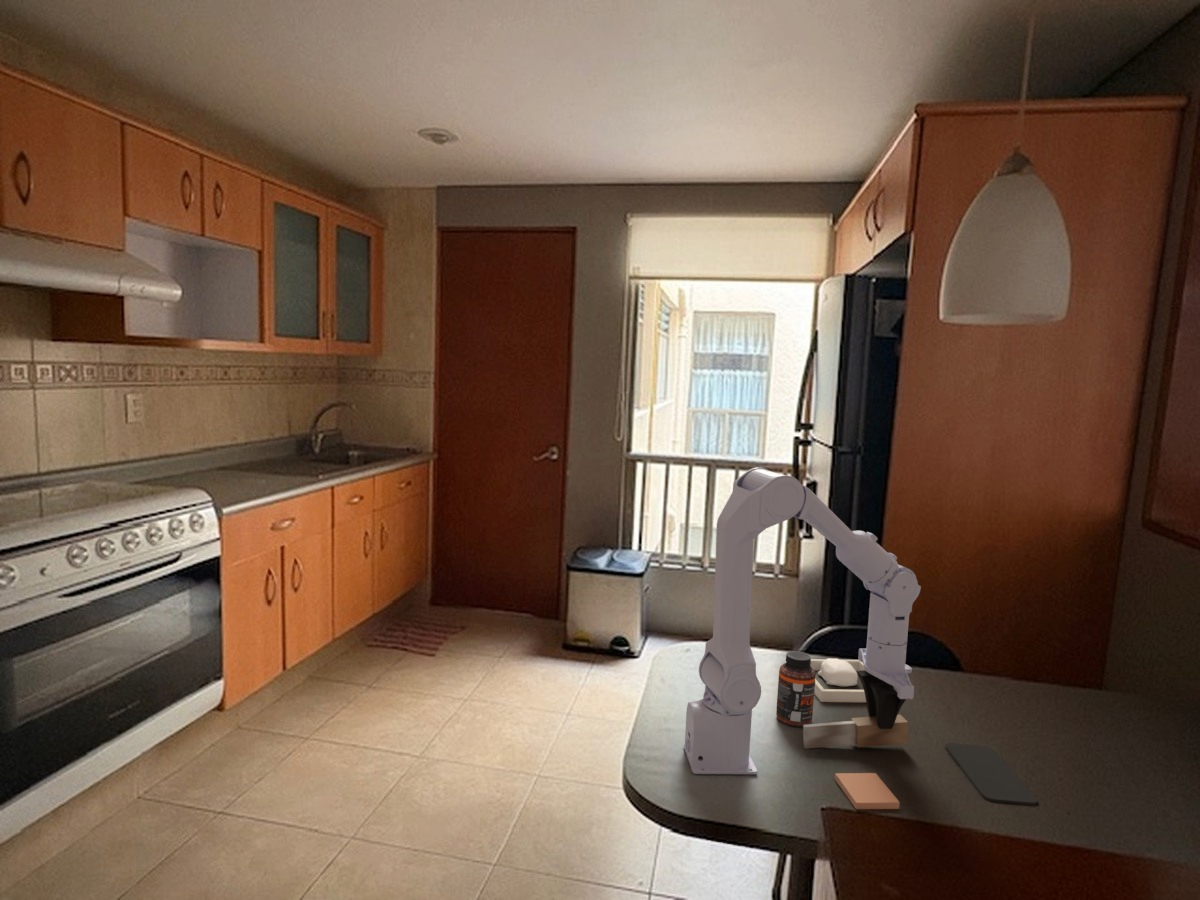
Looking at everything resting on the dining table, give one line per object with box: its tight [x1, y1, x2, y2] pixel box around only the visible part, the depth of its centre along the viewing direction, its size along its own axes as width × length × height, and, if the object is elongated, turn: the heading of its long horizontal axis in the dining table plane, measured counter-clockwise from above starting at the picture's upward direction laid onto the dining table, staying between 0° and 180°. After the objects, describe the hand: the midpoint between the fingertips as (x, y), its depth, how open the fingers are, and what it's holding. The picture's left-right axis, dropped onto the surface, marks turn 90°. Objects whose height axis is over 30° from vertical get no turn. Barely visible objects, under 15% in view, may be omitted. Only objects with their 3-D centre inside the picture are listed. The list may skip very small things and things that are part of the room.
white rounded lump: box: [817, 657, 859, 688], centre depth 135 cm, size 8×7×4 cm
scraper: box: [802, 713, 909, 749], centre depth 109 cm, size 16×2×4 cm, turn 93°
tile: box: [834, 772, 901, 810], centre depth 97 cm, size 6×1×7 cm
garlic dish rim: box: [810, 658, 866, 703], centre depth 132 cm, size 14×15×2 cm
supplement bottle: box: [776, 650, 816, 728], centre depth 117 cm, size 6×6×11 cm
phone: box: [944, 742, 1038, 806], centre depth 103 cm, size 7×1×15 cm
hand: (880, 722), depth 109 cm, fingers closed on scraper, 2 cm apart
